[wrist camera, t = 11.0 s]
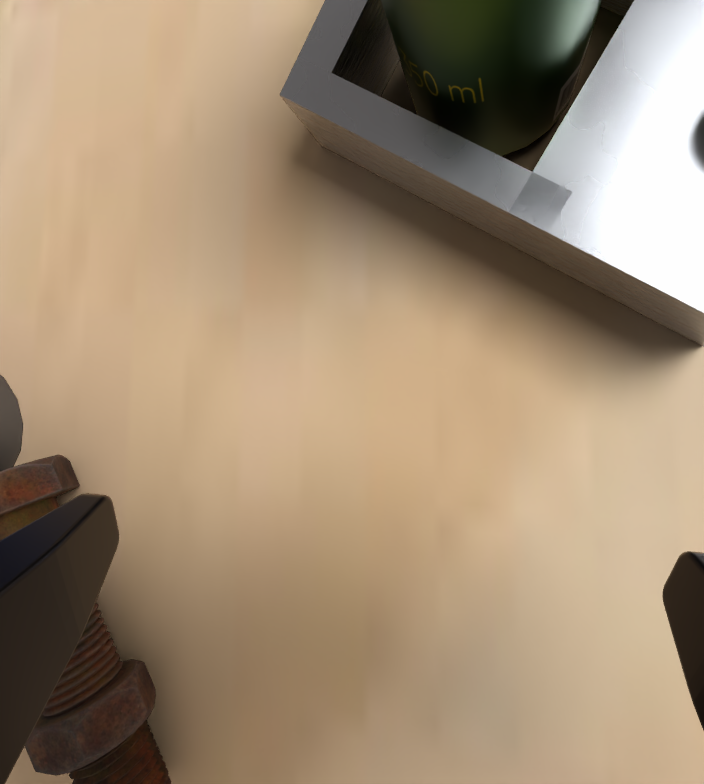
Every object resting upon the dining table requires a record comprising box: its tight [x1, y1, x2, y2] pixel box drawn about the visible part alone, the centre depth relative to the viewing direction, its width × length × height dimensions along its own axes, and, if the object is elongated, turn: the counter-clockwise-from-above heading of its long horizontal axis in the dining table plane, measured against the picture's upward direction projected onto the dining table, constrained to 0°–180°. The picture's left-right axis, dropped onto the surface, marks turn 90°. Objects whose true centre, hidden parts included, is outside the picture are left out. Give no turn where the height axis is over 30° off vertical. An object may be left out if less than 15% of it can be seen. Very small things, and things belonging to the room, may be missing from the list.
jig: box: [280, 0, 704, 346], centre depth 15 cm, size 15×9×5 cm, turn 60°
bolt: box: [0, 455, 171, 784], centre depth 22 cm, size 6×5×15 cm
